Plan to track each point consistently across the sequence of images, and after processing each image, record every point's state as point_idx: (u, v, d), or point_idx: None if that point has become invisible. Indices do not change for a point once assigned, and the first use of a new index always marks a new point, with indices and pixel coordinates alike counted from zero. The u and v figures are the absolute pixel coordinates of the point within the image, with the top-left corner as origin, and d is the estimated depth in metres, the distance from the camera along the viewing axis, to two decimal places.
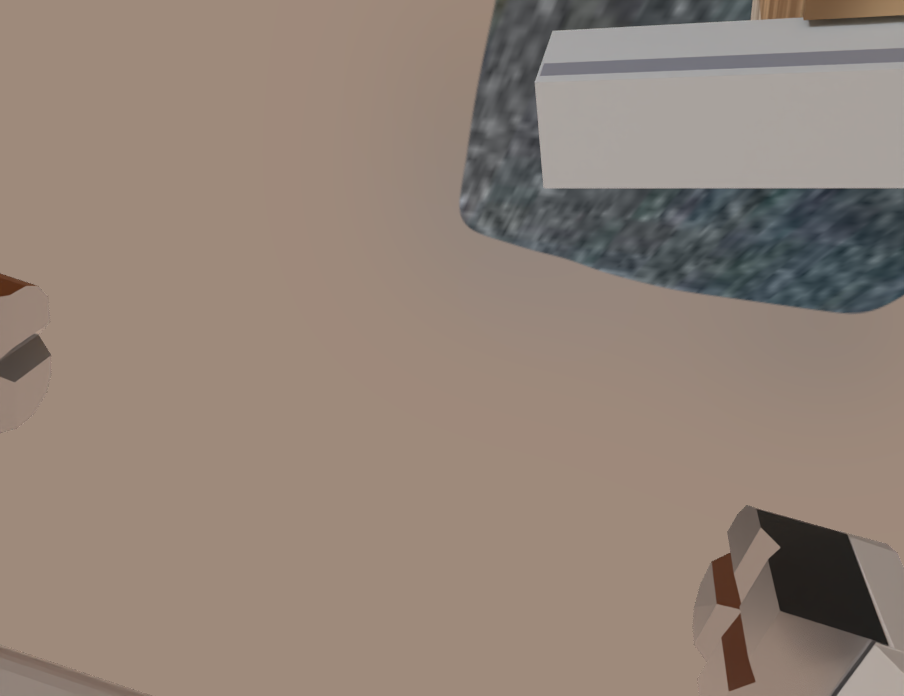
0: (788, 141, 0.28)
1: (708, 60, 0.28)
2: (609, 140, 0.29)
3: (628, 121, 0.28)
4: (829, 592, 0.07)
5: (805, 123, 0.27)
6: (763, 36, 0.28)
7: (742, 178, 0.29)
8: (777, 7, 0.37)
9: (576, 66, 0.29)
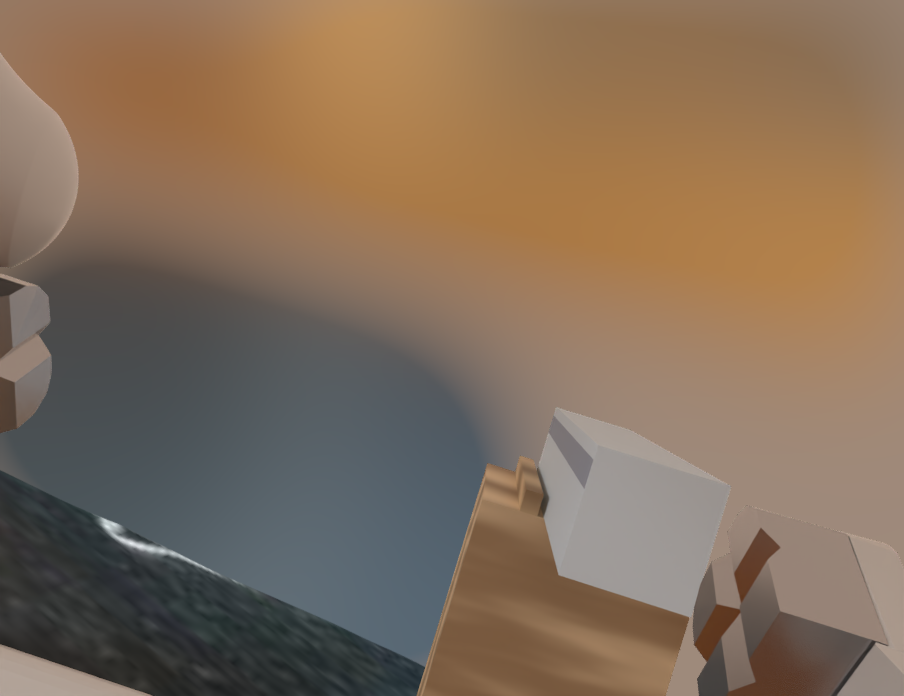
0: (629, 440, 0.34)
1: (571, 457, 0.32)
2: (653, 456, 0.28)
3: (630, 448, 0.29)
4: (828, 592, 0.07)
5: (613, 434, 0.35)
6: (555, 491, 0.33)
7: (669, 454, 0.33)
8: None
9: (583, 472, 0.27)
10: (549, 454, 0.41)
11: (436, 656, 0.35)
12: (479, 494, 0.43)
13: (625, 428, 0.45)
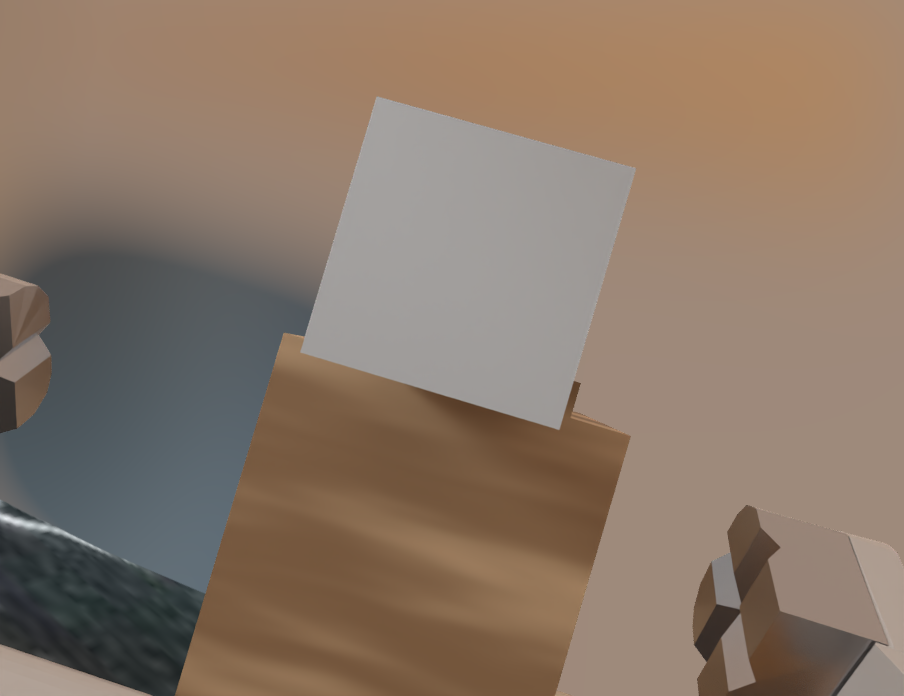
0: None
1: None
2: None
3: None
4: (828, 592, 0.07)
5: None
6: None
7: None
8: None
9: None
10: None
11: (212, 582, 0.22)
12: None
13: None
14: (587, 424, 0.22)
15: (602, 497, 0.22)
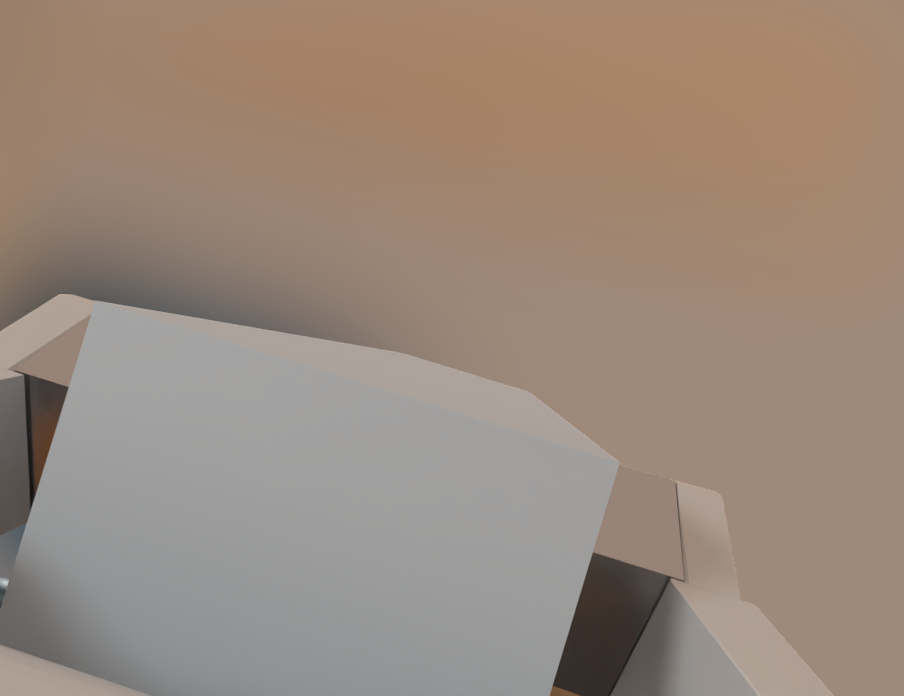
0: (454, 378, 0.15)
1: None
2: (406, 381, 0.09)
3: (355, 361, 0.10)
4: (637, 532, 0.07)
5: (422, 368, 0.15)
6: None
7: (530, 404, 0.14)
8: None
9: None
10: None
11: None
12: None
13: (520, 389, 0.26)
14: None
15: None
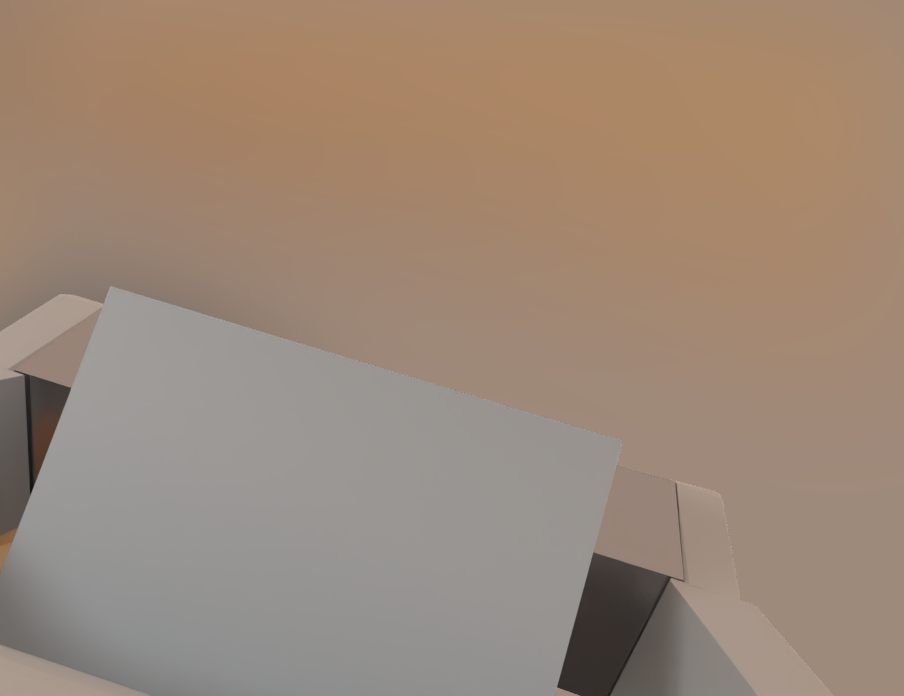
0: None
1: None
2: None
3: None
4: (637, 532, 0.07)
5: None
6: None
7: None
8: None
9: None
10: None
11: None
12: None
13: None
14: None
15: None
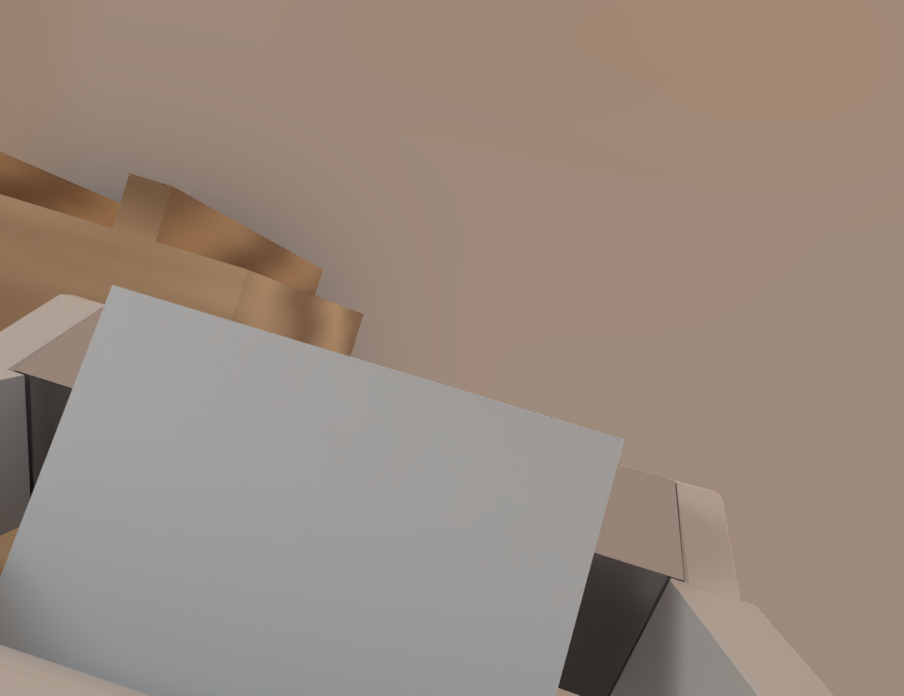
0: None
1: None
2: None
3: None
4: (637, 532, 0.07)
5: None
6: None
7: None
8: None
9: None
10: None
11: None
12: None
13: None
14: (182, 251, 0.14)
15: None
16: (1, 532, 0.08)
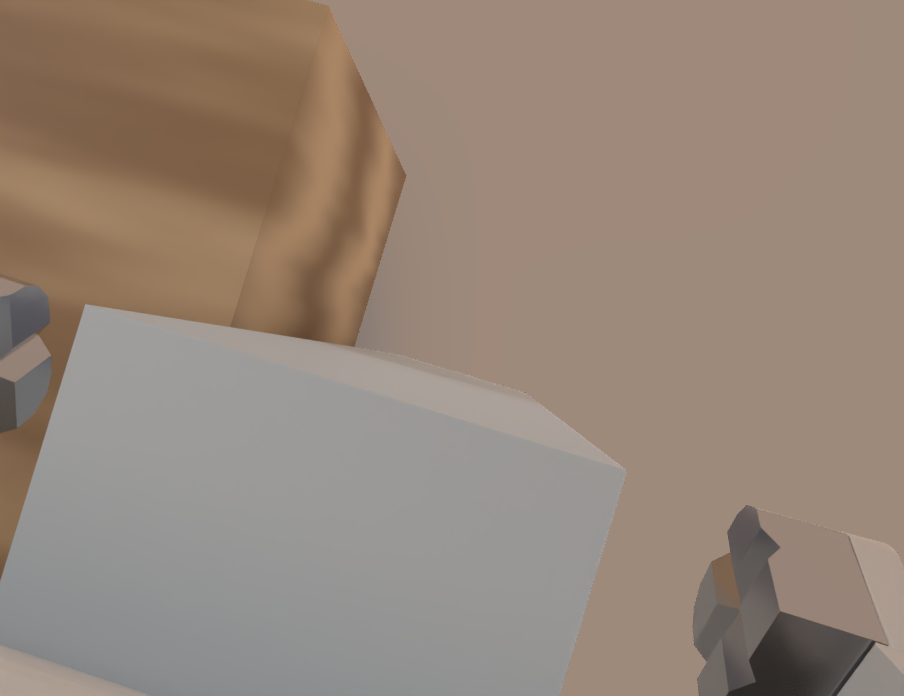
0: (451, 380, 0.15)
1: None
2: (405, 384, 0.09)
3: (353, 365, 0.09)
4: (828, 592, 0.07)
5: (418, 370, 0.15)
6: None
7: (529, 406, 0.13)
8: None
9: None
10: None
11: None
12: None
13: None
14: None
15: (283, 102, 0.14)
16: None
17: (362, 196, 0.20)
